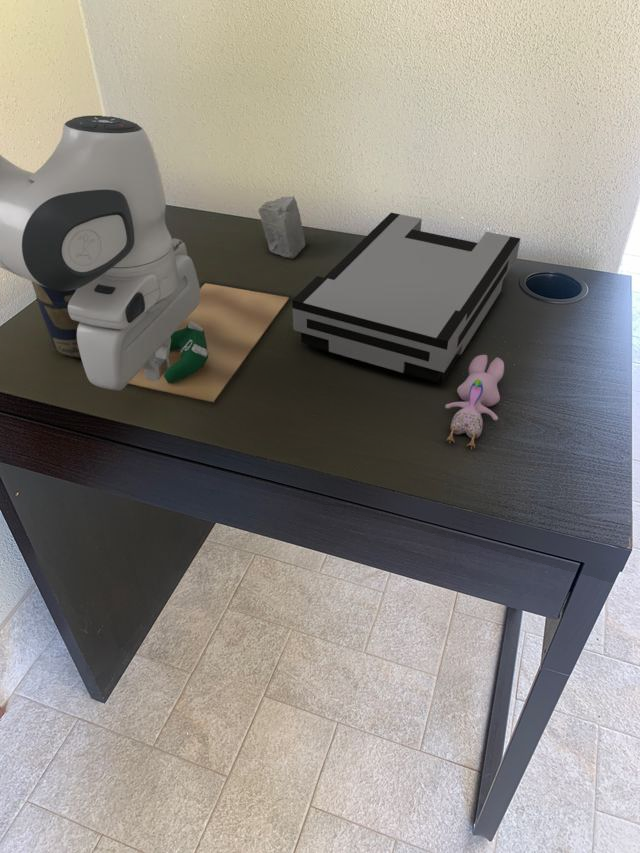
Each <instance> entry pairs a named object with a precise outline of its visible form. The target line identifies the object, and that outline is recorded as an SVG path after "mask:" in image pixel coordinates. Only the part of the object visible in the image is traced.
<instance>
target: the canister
mask: <svg viewBox="0 0 640 853" xmlns="http://www.w3.org/2000/svg"><path fill="white" fill-rule="evenodd" d="M30 282H31V284H32V287H33V290H34V293H35V298H36V301H37V304H38V307H39V310H40V312H41V315H42V318H43V321H44V324H45V326H46V329H47V332H48V335H49V338H50V341H51V344H52V346H53V347H54V349H55V350H56V351H58V352H59V353H60V354H62V355H64V356H67V357H71V358H81V356H80V352H79V348H78V343H77V328H78V325H79V323H80V322H78V321H75V320H72V319H71V317H70V315H69V312H68V303H69V301H70V299H71V298H72V296H73V295H74V293H75V291H76V290H77V289H75V290H70V291H57V290H53V289H50V288H47V287H44V286H41V285H39V284H37V283H34V282H32V281H30Z"/></svg>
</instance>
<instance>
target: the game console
mask: <svg viewBox="0 0 640 853" xmlns="http://www.w3.org/2000/svg"><path fill="white" fill-rule="evenodd" d="M422 220H423V219H422V218H421V217H416V216H411V215H406V214H401V213H396V212H390V213H388V215H387V216H385V217H384V218H383V220H382V221H380V222H379V224H377V225H376V226H375V227H374V228H373V229H372V230H371V231H370V232H369V233H368V234H367V235H366V236H365V237H363V239H362V240H361V241H360V242H359V243H358V244H357V245H356V246H355V247H354V248H353V249H352V250H350V252H349V253H348V254H347V255H346V256H344V257H343V258H342V260H341V261H339V262H338V263H337V264H336V265H335V266H334V267H333V268H332V269H331V270H330V271H329V272H328V273H327V274H326V275H325V276H324V277H323V276H320V275H317V276H315V277H314V279H312V280H311V281H310V282H309V283H308V284H307V285H306V286H305V287H303V289H302V290H301V291H300V292H298V294H296V295H295V296H294V297H293V298H292V299H291V306H292V328H293V331H295V332H298V333H300V343H303V344H305V345H308V346H307V347H310V348H313V349H317V350H320V351H324V352H328V353H331V354H334V355H338V356H341V357H345V358H351V359H352V360H353V359H354V360H357V361H359V362H364V363H368V364H370V365H374V366H376V367H377V366H378V367H381V368H384V369H388V370H392V371H395V372H397V373H400V374H404V375H407V376H409V377H414V378H416V379H421V380H424V381H427V382H431V383H434V384H438V385H442V384H443V383H444V382H445V380H446V378H447V376H448V375H449V373H450V371H451V370H452V368H453V367H454V365H455V364H456V362H457V360H458V359H459V357H460V356H461V355H462V354H463V352H464V351H465V349H466V348H467V346H468V345H469V343H470V342H471V339H472V338H473V336H474V335H475V333H476V332H477V330H478V328H479V327H480V325H481V323H482V322H483V320H484V319H485V317H486V316H487V315H488V312H489V311H490V309H491V308H492V306H493V305H494V303H495V301H496V300H497V299H498V296H499V295H500V294H501V292H502V288H503V283H504V280H505V278H506V277H507V275H508V273H509V272H510V270H511V269H512V267H513V266H514V263H516V261H517V259H518V254H519V249H520V244H521V243H520V242H521V238H520V237H516V236H510V235H505V234H500V233H495V232H490V231H485V233H484V234H483V235H482V237H481V238H480V240H479V241H478V242H475V241H470V240H467V239H462V238H461V239H460V238H457V237H451V236H446V235H441V234H437V233H431V232H427V231H422Z"/></svg>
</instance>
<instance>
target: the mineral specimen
mask: <svg viewBox="0 0 640 853" xmlns="http://www.w3.org/2000/svg"><path fill="white" fill-rule="evenodd" d="M297 202H298V201H297V200H296V198H295V196H294V195H293V196H282V197H280V198H276V199H275V200H269V201H265V202H264V203H263V204H262V205H261V207H259V208H258V213H259V216H260V222H261V224H262V228H263V231H264V234H265V238H266V240H267V241H266V242H267V245H268V249H269V252H270V253H272V254H275V255H279V256H281V257H283V258H285V259H286V258H287V259H291V260H293V259H295V258H297V256H298V255H299V253H301V251H302V250H303V249H304V248H305V246H306V238H305V233H304V228H303V224H302V218H301V213H300V210H299V207H298V203H297Z"/></svg>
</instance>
